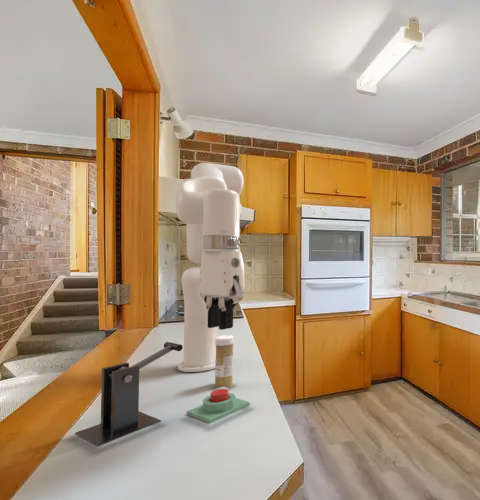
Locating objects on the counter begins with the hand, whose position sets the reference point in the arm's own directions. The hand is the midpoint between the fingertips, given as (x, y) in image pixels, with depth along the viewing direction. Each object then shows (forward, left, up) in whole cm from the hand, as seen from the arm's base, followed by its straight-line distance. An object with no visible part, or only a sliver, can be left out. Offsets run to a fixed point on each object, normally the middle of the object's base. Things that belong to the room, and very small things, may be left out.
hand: (220, 326), depth 77 cm
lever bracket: (+15, -10, -19) cm, 26 cm away
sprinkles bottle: (-11, -13, -19) cm, 26 cm away
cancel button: (0, 0, -16) cm, 16 cm away
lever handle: (+10, -10, -8) cm, 16 cm away
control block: (0, 0, -19) cm, 19 cm away
